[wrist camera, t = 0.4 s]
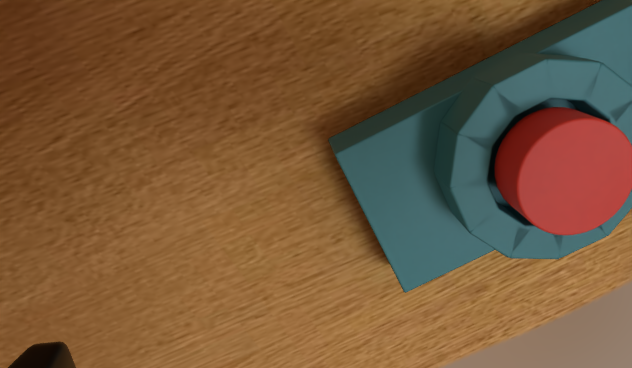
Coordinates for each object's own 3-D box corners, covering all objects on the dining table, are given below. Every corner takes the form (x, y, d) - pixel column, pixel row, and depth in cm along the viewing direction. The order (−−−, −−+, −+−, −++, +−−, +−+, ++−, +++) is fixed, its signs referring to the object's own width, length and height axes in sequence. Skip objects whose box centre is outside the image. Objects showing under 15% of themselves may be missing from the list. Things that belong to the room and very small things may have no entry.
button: (515, 232, 19) (539, 255, 17) (477, 139, 17) (499, 153, 16) (616, 184, 18) (650, 202, 17) (584, 86, 17) (618, 95, 16)
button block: (394, 271, 23) (420, 326, 19) (324, 132, 21) (337, 163, 17) (670, 138, 22) (754, 167, 18) (626, -21, 20) (710, -24, 16)
